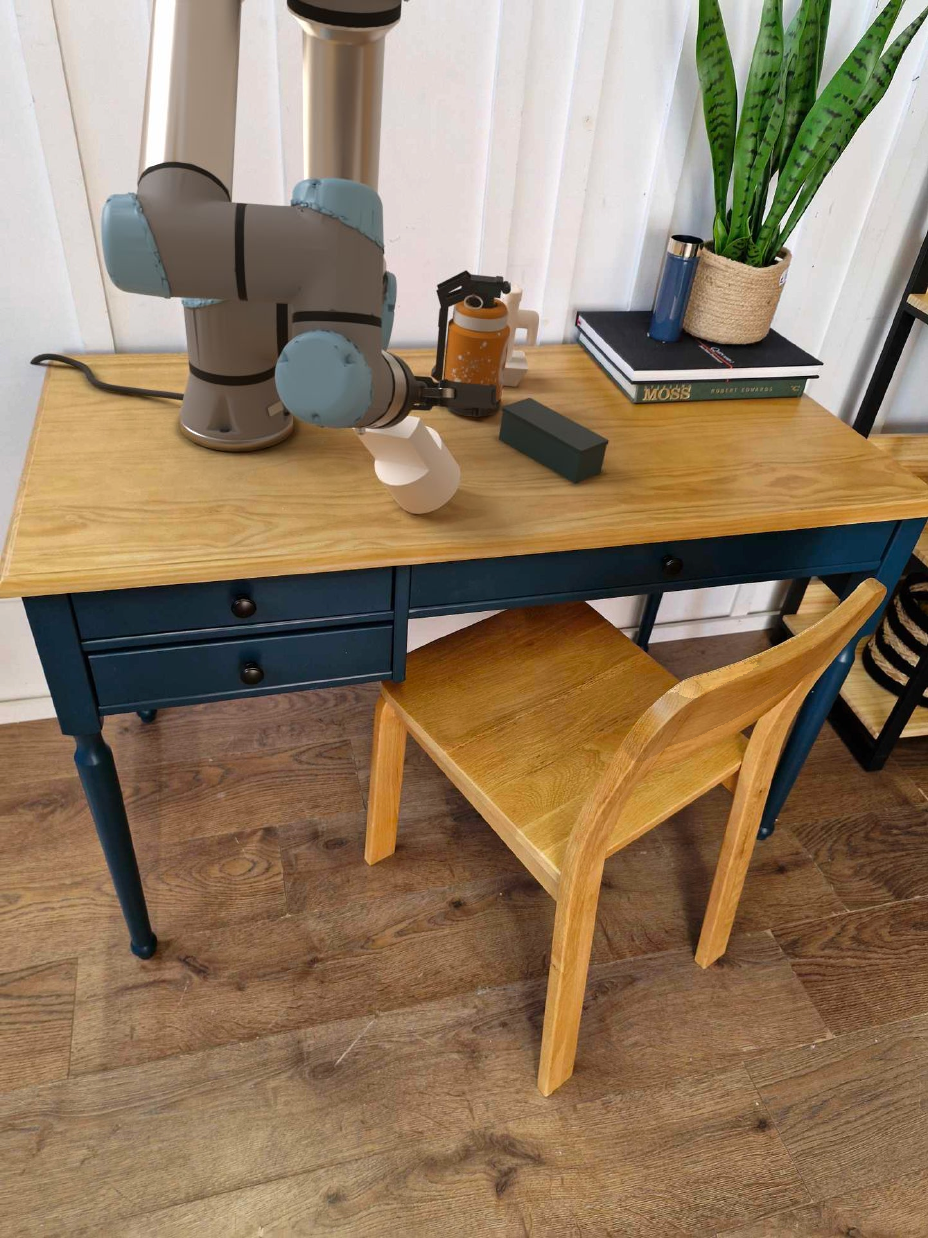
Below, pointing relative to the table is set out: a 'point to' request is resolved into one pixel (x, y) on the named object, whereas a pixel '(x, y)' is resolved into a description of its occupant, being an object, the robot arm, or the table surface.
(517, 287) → the figurine
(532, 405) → the pencil box
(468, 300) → the canister
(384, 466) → the cylinder with rectangular tab
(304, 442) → the table surface
